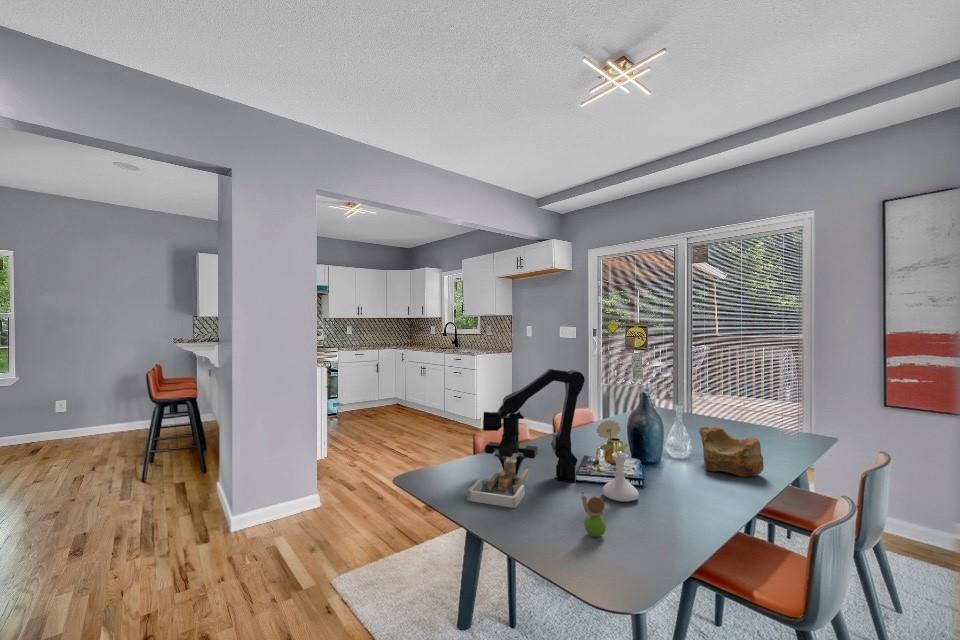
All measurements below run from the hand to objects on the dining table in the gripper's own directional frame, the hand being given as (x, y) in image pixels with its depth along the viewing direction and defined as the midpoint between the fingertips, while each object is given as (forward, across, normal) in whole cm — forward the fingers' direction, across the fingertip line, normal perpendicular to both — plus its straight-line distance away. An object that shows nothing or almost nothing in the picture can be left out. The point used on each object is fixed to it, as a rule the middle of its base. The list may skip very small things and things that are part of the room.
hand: (511, 473), depth 152 cm
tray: (+2, 0, -17) cm, 17 cm away
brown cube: (+2, 0, -5) cm, 6 cm away
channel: (+2, 0, -3) cm, 3 cm away
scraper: (+2, 0, 0) cm, 2 cm away
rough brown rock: (+2, +74, +36) cm, 82 cm away
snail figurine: (+2, +32, -31) cm, 45 cm away
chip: (+2, 0, -9) cm, 9 cm away
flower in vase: (+2, +37, -3) cm, 37 cm away
